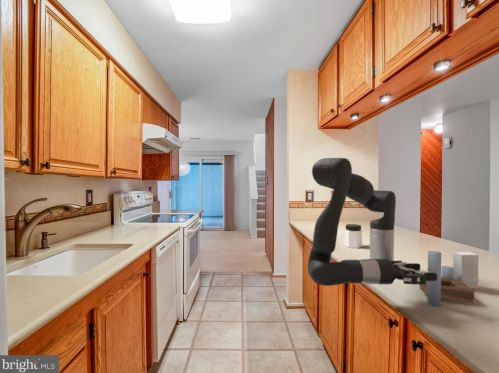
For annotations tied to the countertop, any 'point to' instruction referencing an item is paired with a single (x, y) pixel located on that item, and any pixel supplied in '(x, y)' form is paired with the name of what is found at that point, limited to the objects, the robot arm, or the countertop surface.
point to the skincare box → (466, 268)
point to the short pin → (447, 272)
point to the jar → (353, 236)
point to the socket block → (453, 291)
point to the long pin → (434, 286)
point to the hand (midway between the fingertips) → (427, 271)
